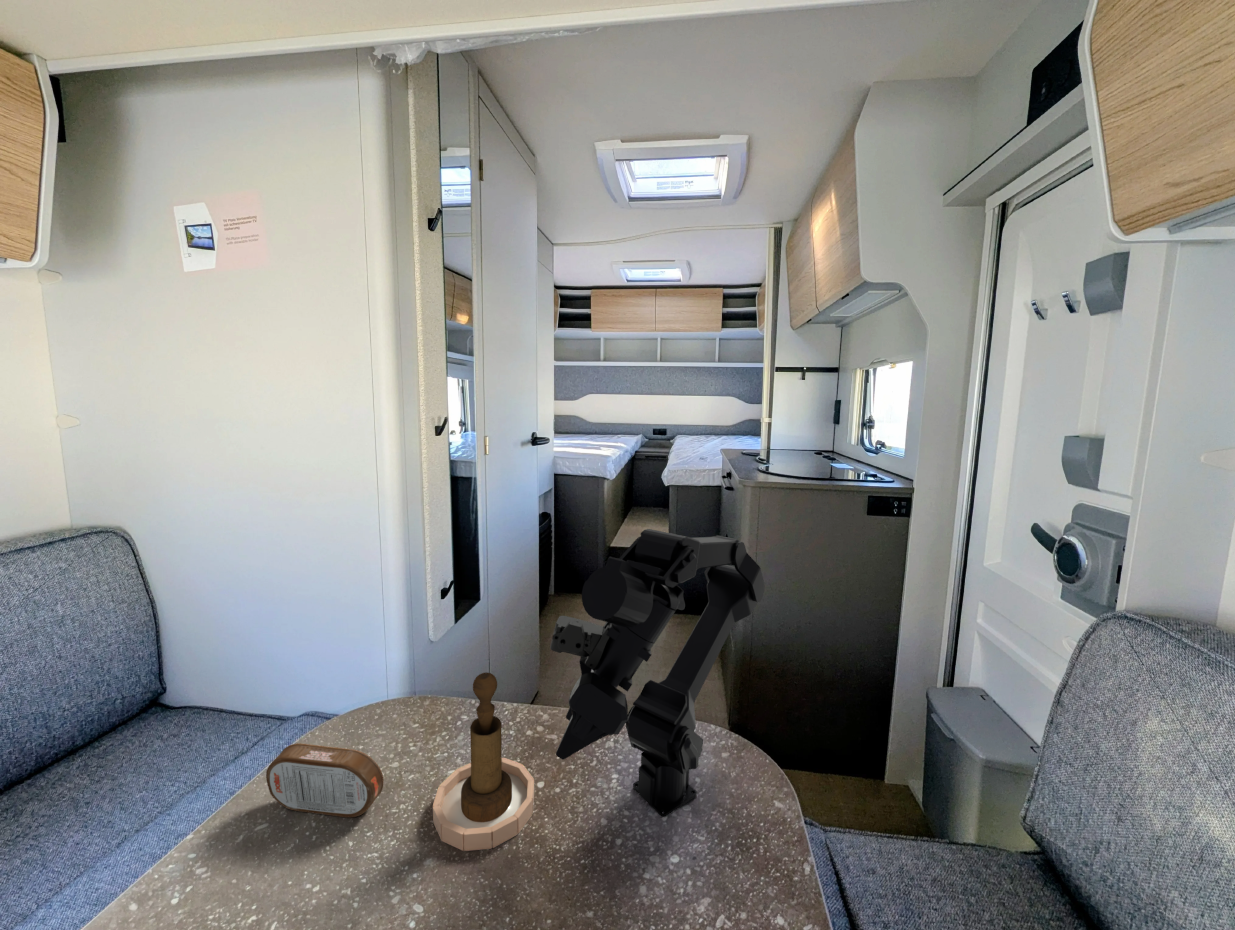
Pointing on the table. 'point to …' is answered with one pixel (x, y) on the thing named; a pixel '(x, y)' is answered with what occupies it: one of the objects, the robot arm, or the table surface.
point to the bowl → (482, 834)
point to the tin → (324, 780)
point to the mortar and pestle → (486, 760)
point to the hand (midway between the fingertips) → (564, 736)
